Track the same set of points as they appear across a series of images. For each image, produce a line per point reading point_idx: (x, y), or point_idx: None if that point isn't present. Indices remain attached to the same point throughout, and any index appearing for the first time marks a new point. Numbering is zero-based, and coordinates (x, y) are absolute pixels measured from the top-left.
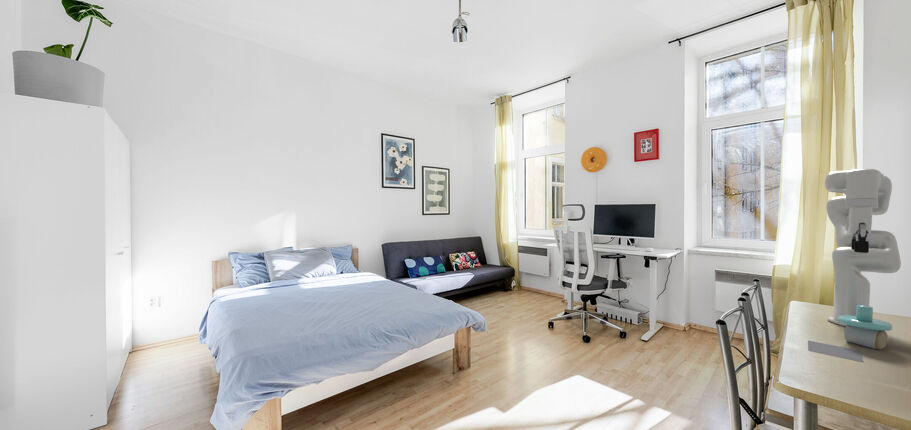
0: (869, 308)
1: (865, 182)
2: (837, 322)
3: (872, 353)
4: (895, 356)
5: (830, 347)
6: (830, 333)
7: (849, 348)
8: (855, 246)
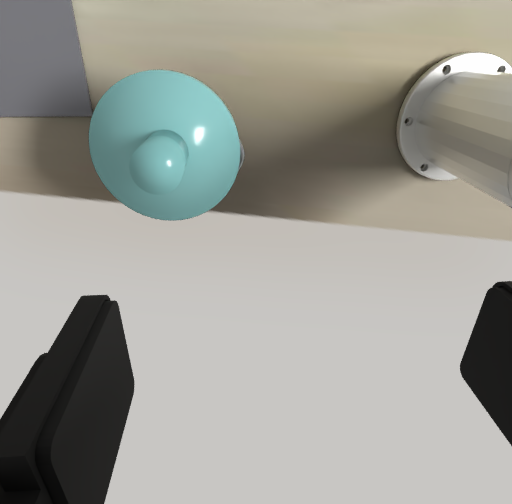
0: (136, 182)
1: None
2: (420, 80)
3: None
4: None
5: (38, 37)
6: (263, 49)
7: (87, 92)
8: (48, 362)
